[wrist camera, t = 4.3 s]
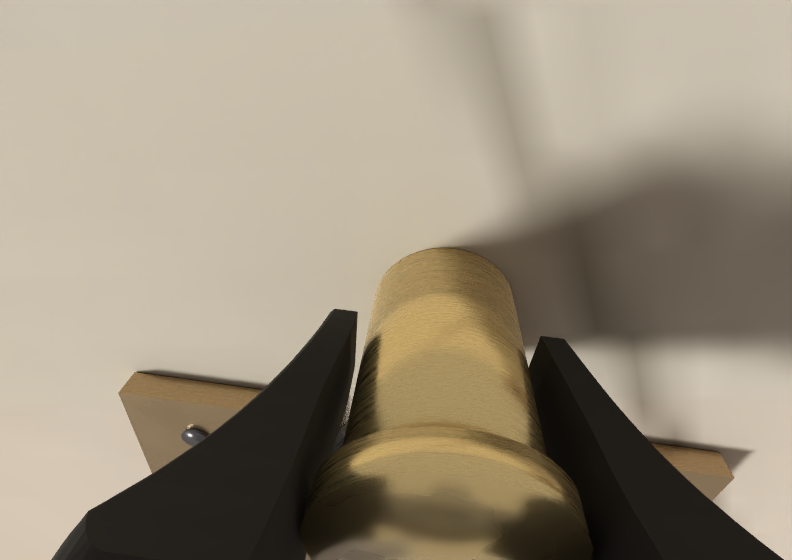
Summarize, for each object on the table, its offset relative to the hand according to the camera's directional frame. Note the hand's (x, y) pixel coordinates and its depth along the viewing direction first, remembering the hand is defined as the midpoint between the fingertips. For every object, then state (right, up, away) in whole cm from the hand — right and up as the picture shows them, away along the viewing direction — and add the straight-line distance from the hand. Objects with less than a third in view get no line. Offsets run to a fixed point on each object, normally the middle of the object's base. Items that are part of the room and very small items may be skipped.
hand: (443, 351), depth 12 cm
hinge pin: (0, +1, +2) cm, 2 cm away
